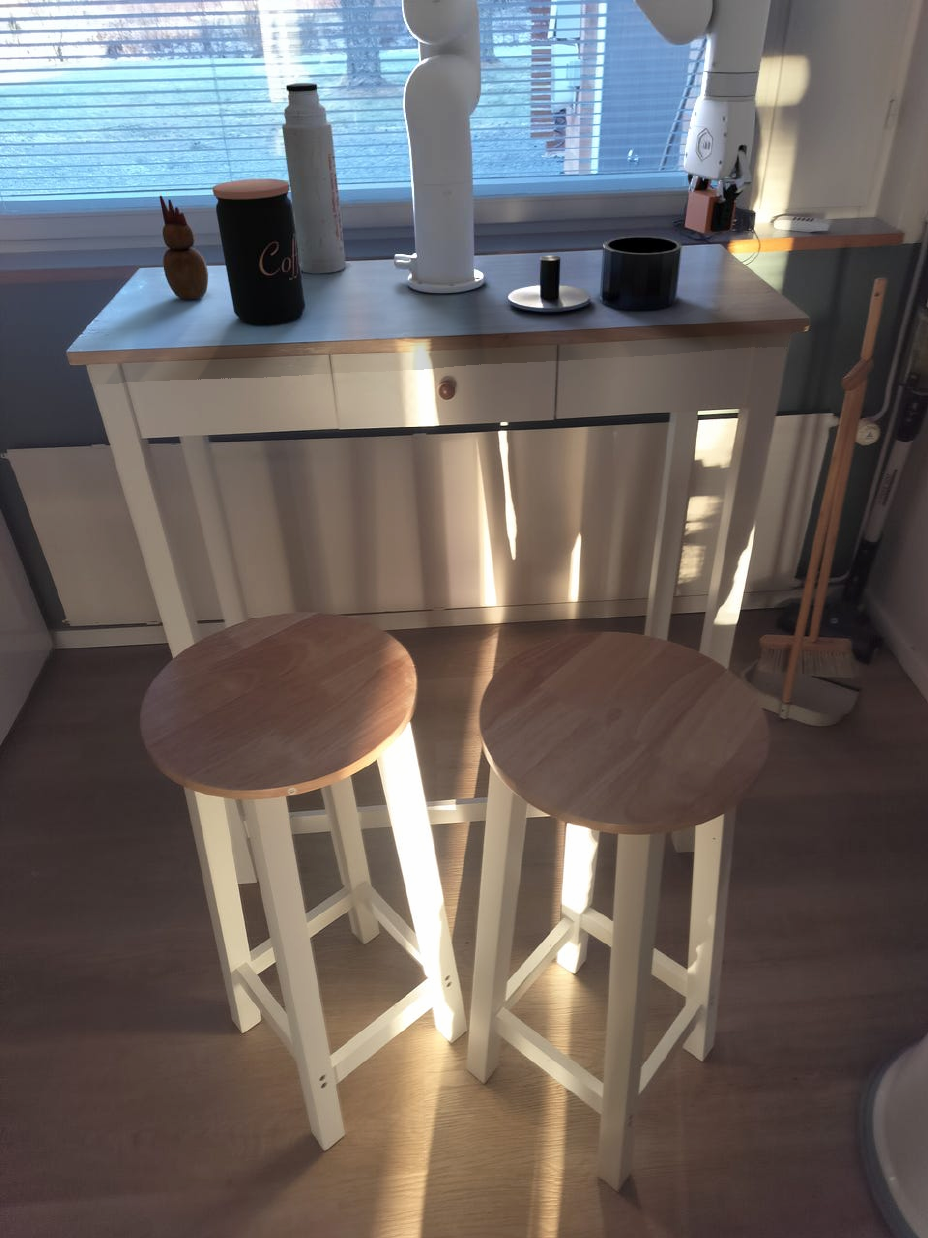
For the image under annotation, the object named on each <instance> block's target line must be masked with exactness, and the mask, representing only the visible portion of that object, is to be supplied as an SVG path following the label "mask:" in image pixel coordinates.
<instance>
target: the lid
mask: <svg viewBox="0 0 928 1238" xmlns="http://www.w3.org/2000/svg"><path fill="white" fill-rule="evenodd" d="M561 258H562V257H560V256H558V255H543V256H541V257H540V259H539V263H540V264H539V285H530V286H525V287H521V288H518V289H515V290H513V291H511V292H510V293H509V295H508V302H509V304H510V305H511V306H513V307H515V308H518V309H521V310H525V311H529V312H535V313H536V312H537V313H562V312H567V311H572V310H573V311H574V310H577V309H580V308H583V307H585V306H587V305H588V304H589V303H590V302H591V295H590V293H589V292H588V291H586V290H584V289H582V288H578V287H576V286H570V285H561V283H560V282H561Z"/></svg>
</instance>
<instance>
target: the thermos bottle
mask: <svg viewBox="0 0 928 1238" xmlns="http://www.w3.org/2000/svg"><path fill="white" fill-rule="evenodd" d="M285 87H286V88H285V89H286V91H287V92H288V95H287V99H288V106H286V107H285V108H284V113H283V116H284V119H285V123H284V124H282V126H281V129H282V137H283V144H284V152H285V159H286V160H285V161H286V166H287V174H288V183H289V188H290V190H289V192H290V198H291V203H292V208H293V216H294V224H295V231H296V239H297V247H298V254H299V262H300V270H301V272H304V273H308V274H330V273H335V272H340V271H342V270H345V268H346V266H347V264H346V255H345V245H344V235H343V224H342V216H341V215H342V214H341V205H340V196H339V195H340V194H339V186H338V176H337V165H336V156H335V146H334V137H333V126H332V123H331V122H330V121H328V120H327V119H328V118H327V114H328V113H327V112H326V107H325V106H324V105H323V104H321V102H320V96H319V93H318V84H317V83H313V82H312V83H311V82H297V83H291V84H286V85H285Z"/></svg>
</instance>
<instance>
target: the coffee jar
mask: <svg viewBox="0 0 928 1238" xmlns="http://www.w3.org/2000/svg"><path fill="white" fill-rule="evenodd" d="M289 192H290V183H289V181H287V180H284V179H278V178H247V179H246V178H245V179H237V180H230V181H225V182H221V183H217V184H215V185H214V186H212V193H213V196H214V197H215V198H216V199H217V203H216V206H215V213H216V218H217V223H218V229H219V230H218V231H219V236H220V241H221V246H222V252H223V258H224V262H225V269H226V274H227V279H228V280H227V281H228V285H229V291H230V297H231V303H232V307H233V314H235V316H236V317H237V318H238V319H239V320H240V321H241V322H242V323H243V324H247V325H253V326H275V325H281V324H286V323H287V324H288V323H289V322H293V321H296V320H297V319H299V318H301V316H302V315H303V312H304V310H305V308H306V302H305V294H304V293H305V292H304V287H303V286H304V285H303V278H302V270H301V267H300V259H299V252H298V244H297V236H296V227H295V217H294V211H293V205H292V200H291V199H290V198H289V197H288V194H289Z"/></svg>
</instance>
